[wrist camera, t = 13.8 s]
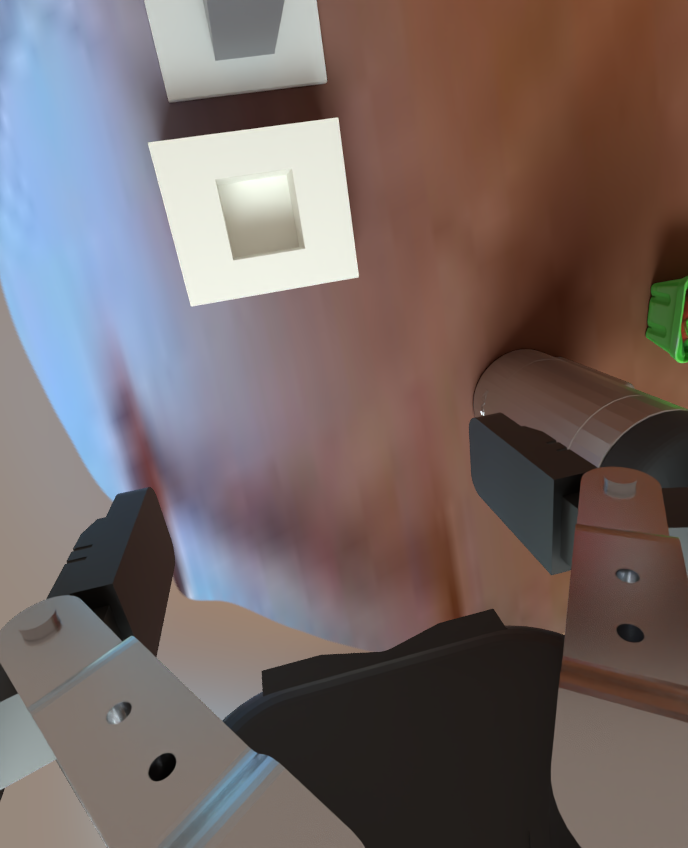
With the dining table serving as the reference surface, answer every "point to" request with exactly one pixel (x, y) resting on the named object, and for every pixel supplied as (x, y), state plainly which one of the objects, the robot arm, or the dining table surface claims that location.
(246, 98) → the dining table surface
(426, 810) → the robot arm
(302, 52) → the mat
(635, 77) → the dining table surface
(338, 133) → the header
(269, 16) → the plug
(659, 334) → the fruit basket
